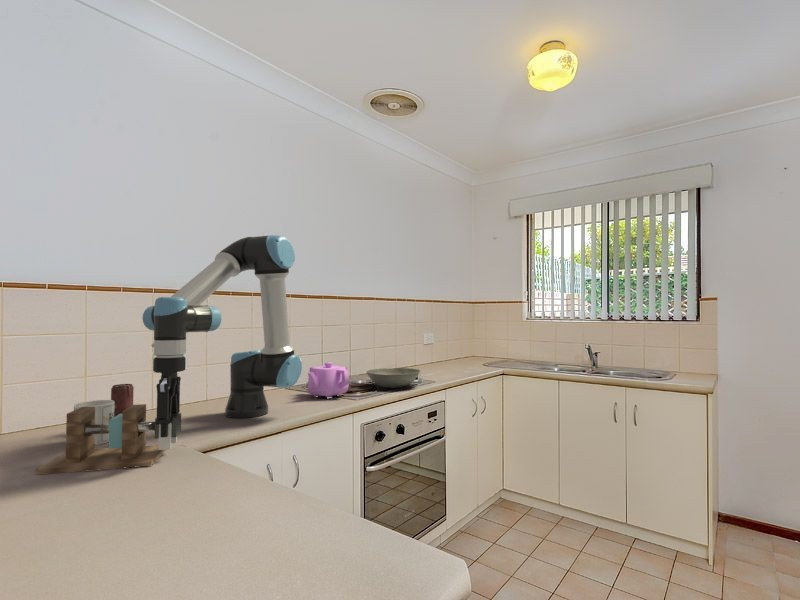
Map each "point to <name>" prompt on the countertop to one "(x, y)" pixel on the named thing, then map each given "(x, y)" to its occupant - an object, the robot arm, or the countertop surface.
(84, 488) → the countertop surface
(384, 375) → the bowl
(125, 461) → the block
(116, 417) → the block
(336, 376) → the teapot
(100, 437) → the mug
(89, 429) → the shaft
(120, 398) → the can
